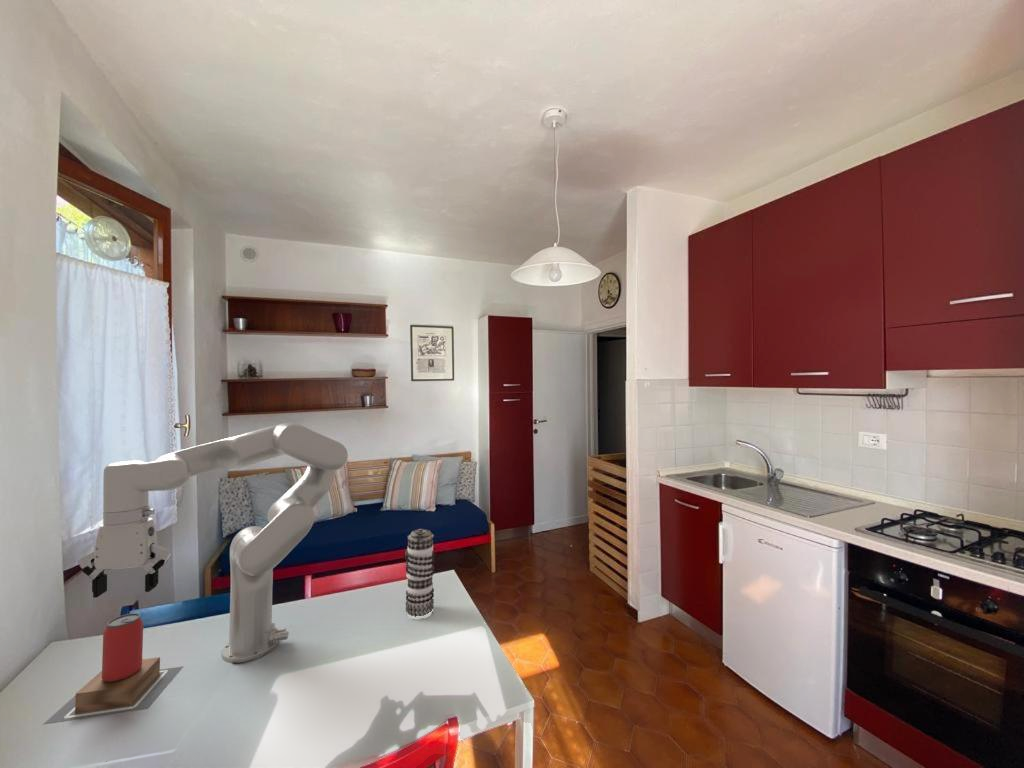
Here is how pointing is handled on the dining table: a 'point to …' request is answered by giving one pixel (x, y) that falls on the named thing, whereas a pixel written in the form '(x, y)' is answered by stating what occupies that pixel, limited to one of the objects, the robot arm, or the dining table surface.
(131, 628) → the beer can
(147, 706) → the grey mat
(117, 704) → the walnut base block
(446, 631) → the dining table surface
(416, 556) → the decorative candle
